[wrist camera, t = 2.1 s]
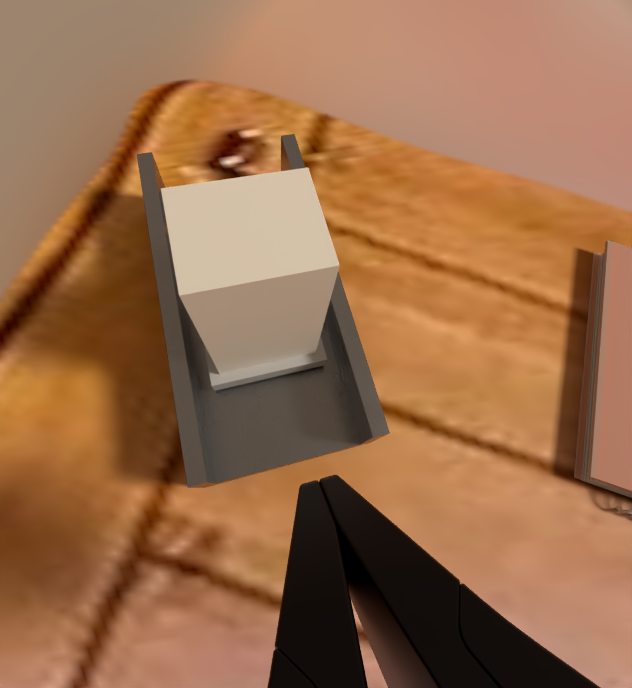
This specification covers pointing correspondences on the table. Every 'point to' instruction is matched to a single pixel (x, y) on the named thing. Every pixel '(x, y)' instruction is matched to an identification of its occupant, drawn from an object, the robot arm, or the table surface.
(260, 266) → the cream rectangular block
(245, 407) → the rail housing
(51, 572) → the table surface
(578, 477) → the notebook
